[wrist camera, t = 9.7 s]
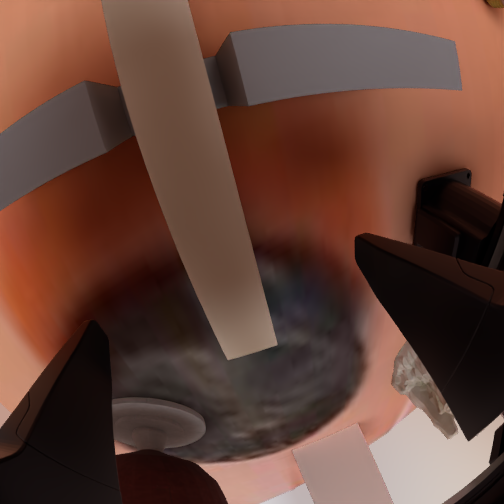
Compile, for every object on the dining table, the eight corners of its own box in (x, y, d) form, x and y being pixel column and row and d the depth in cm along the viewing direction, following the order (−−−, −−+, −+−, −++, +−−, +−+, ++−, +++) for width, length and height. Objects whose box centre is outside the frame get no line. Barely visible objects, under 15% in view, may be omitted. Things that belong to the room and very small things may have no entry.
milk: (291, 450, 37) (339, 576, 15) (357, 422, 37) (416, 543, 15) (304, 461, 43) (343, 562, 21) (358, 438, 43) (404, 536, 21)
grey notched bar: (357, 50, 12) (454, 41, 6) (363, 82, 13) (462, 90, 7) (7, 159, 10) (-74, 208, 4) (19, 190, 11) (-55, 253, 5)
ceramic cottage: (382, 396, 33) (434, 471, 20) (402, 319, 25) (494, 421, 12) (453, 347, 35) (506, 404, 22) (481, 267, 27) (559, 329, 14)
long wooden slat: (162, -45, 7) (155, -123, 1) (242, 254, 16) (277, 344, 10) (123, -33, 7) (91, -103, 1) (209, 264, 16) (228, 360, 10)
